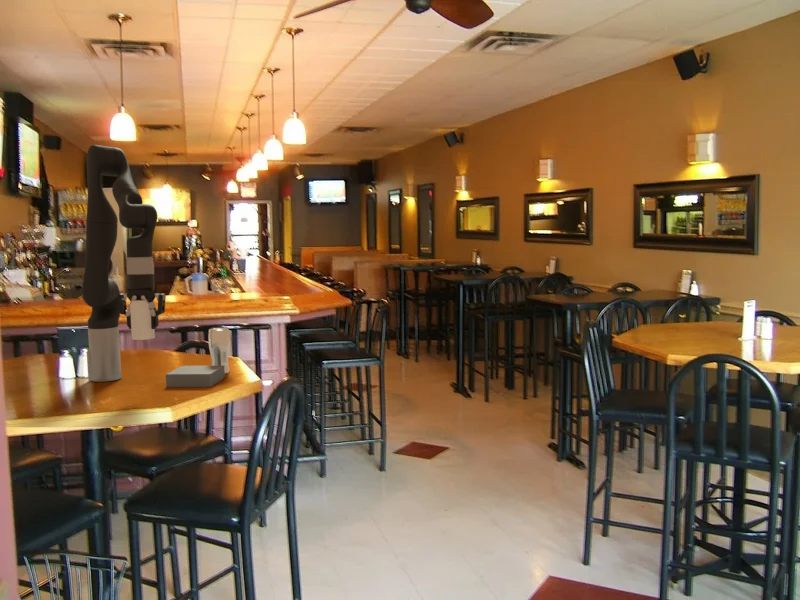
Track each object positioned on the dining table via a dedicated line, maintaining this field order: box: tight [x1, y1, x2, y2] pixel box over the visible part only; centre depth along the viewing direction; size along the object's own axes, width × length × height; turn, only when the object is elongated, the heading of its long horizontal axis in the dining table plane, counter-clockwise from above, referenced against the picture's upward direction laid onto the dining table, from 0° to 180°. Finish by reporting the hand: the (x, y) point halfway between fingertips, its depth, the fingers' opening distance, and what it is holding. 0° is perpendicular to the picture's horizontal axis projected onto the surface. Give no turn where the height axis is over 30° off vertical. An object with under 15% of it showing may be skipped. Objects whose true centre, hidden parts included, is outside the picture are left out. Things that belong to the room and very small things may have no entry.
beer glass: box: [208, 327, 231, 375], centre depth 239 cm, size 7×7×15 cm
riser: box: [165, 365, 226, 388], centre depth 225 cm, size 14×14×4 cm
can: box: [130, 299, 156, 342], centre depth 210 cm, size 6×6×12 cm
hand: (143, 328), depth 210 cm, fingers closed on can, 6 cm apart
